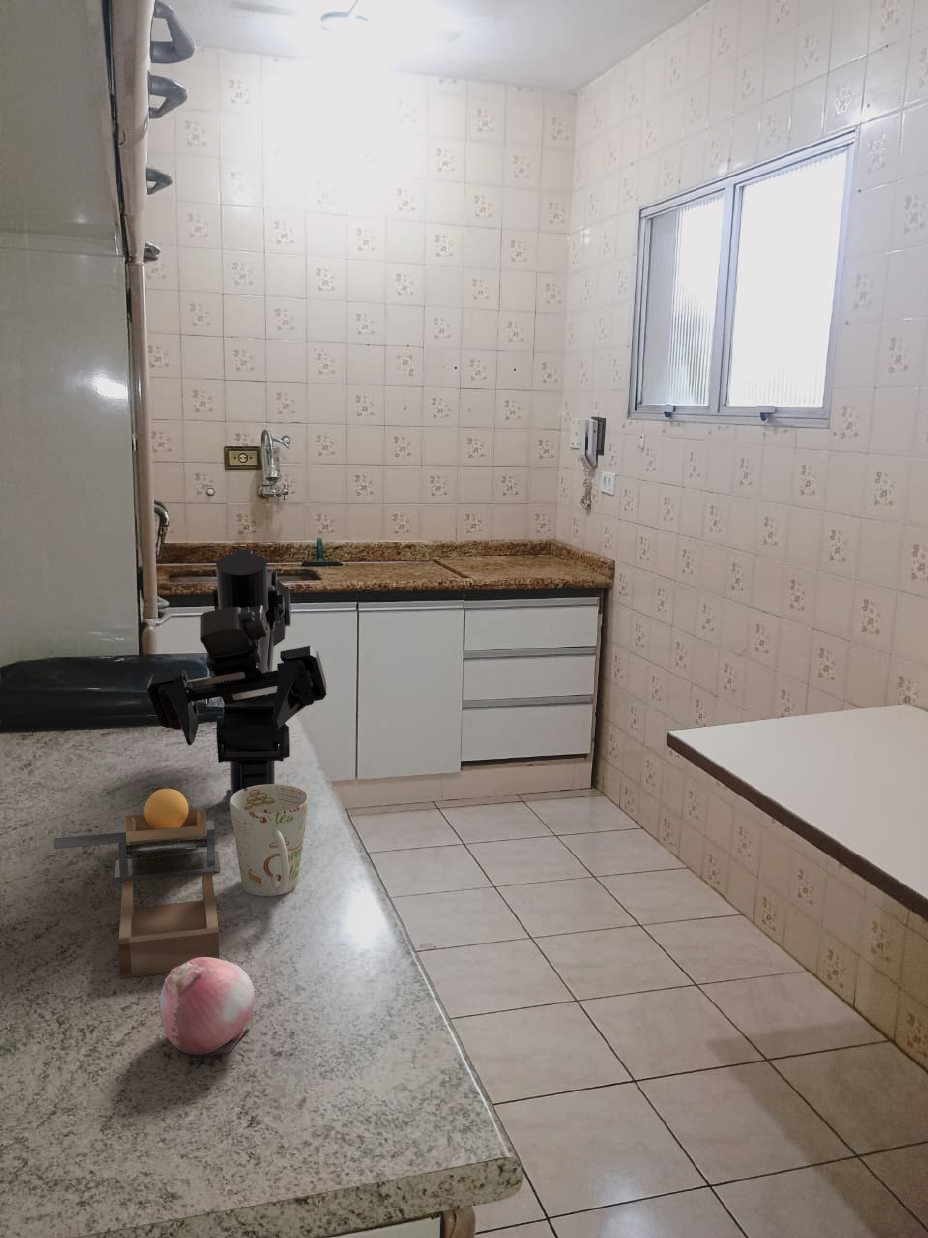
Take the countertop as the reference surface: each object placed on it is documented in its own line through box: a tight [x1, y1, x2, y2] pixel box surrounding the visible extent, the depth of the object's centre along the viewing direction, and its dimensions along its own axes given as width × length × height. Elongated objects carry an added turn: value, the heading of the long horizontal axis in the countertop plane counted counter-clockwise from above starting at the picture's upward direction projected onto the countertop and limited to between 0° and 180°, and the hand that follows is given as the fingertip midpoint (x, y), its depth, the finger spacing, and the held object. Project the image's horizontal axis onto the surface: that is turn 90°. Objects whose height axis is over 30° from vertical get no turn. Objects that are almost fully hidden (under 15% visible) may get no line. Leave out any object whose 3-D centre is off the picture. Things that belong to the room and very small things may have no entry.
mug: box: [229, 783, 309, 897], centre depth 106 cm, size 8×13×10 cm, turn 25°
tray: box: [118, 873, 220, 979], centre depth 97 cm, size 13×9×3 cm
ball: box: [143, 788, 189, 829], centre depth 116 cm, size 5×5×5 cm
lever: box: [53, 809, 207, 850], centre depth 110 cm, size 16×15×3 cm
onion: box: [158, 957, 256, 1058], centre depth 81 cm, size 8×8×7 cm
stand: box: [113, 820, 221, 884], centre depth 111 cm, size 4×11×5 cm, turn 107°
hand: (232, 733), depth 103 cm, fingers open, 9 cm apart
